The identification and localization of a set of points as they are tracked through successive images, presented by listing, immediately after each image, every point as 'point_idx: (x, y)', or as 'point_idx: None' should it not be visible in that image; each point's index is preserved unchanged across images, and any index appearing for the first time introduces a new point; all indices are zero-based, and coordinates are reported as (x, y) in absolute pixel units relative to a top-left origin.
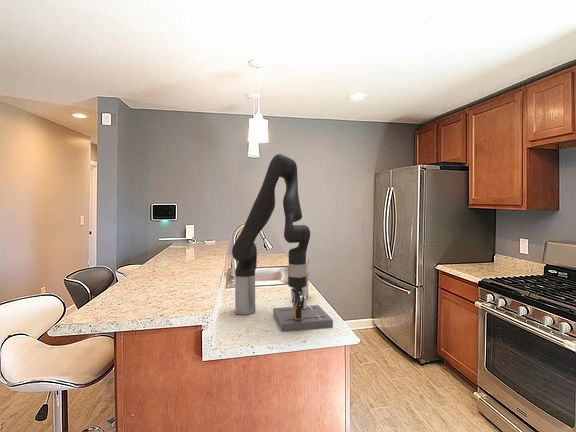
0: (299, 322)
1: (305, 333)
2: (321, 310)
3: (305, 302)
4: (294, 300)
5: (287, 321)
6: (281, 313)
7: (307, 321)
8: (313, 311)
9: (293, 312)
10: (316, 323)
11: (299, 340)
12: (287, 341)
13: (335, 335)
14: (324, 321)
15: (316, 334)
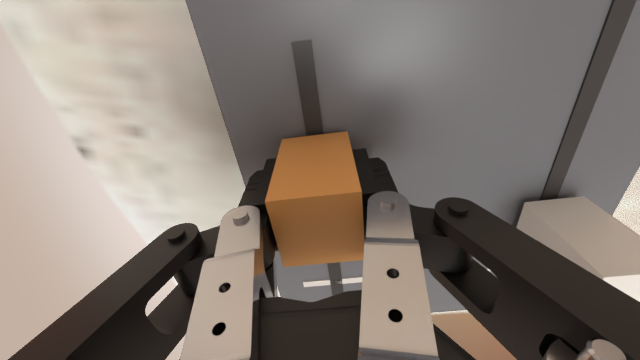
0: (242, 166)
1: (202, 169)
2: (451, 303)
3: None
4: (211, 287)
5: (264, 68)
6: (514, 17)
7: None
8: None
9: (333, 155)
10: None
11: (82, 123)
12: (31, 35)
13: None
14: (280, 290)
15: (195, 219)
